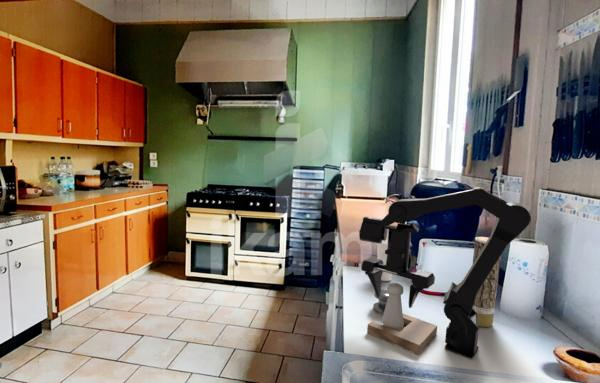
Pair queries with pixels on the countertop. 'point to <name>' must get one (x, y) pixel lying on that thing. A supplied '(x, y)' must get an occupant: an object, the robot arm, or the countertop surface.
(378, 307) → the spool
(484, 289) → the wooden log
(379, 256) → the drinking glass
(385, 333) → the notched board
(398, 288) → the salt shaker
